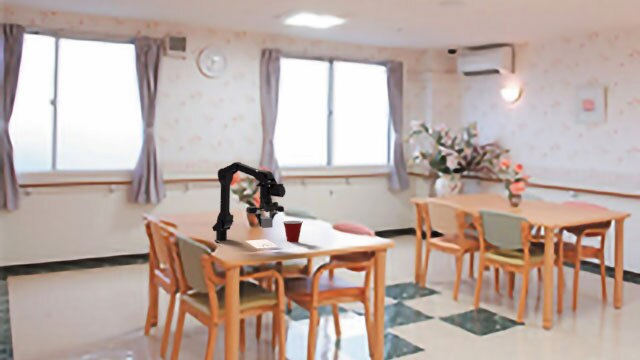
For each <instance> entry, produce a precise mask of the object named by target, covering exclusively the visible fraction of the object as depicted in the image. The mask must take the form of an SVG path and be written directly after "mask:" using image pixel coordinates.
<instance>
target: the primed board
mask: <svg viewBox="0 0 640 360" xmlns="http://www.w3.org/2000/svg"><path fill="white" fill-rule="evenodd" d="M245 242H246V243H248V244H249V245H251V246H252V247H254V248H255V249H266V248H267V249H268V248H269V249H271V248H279V247H280V246H278V245H277V244H275V243H273V242H272V241H270V240H268V239H253V240H251V239H249V240H245Z"/></svg>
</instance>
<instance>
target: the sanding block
mask: <svg viewBox="0 0 640 360" xmlns="http://www.w3.org/2000/svg"><path fill="white" fill-rule="evenodd" d="M273 220H274V218H273V219H272V218H270V217H269V215H268V216H261V226H259V223H258V222H257V226H258V227H260V228H262V229H268V228H269V229H270V228H273V226H274V225H273Z"/></svg>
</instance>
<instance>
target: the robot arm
mask: <svg viewBox="0 0 640 360" xmlns="http://www.w3.org/2000/svg"><path fill="white" fill-rule="evenodd" d="M238 172H240V173H243V174H246V175H248V176H250V177H253V178H254V179H255V180H256V181H258V183H257V184H256V187H259V197H258V198H259V199H258V200H259V205H258V207H256V206H254V205H253V206H247V207H246V209H245V213H248V214H253V215H254V216H255V218H256V220H257V224H258V223H259V226H258V227H260V226H261V217H262V213H261V212H266V213H269V215H268V217H270V218H272V219H273V220H274V219H275V216H276V215H278V214H279V213H284V212H285V207H284V206H283V205H282V204H281V205H279V202H278V201H274V202H273V198H272V197H277V198H284V197H285V195H286V188H285V186H284V183H278V181H277V180H276V178H275V177H274V175H273V172H272V171H270V170H266V169H259V168H258V169H257V168H255V167H253V166H251V165H247V164H245V163H242V162H240V161H236V162H235V161H233V162H232V163H231V164H230V165H227V166H224V167H222V168H219V169H218V170H217V180H218V182H219V184H220V198H219V199H220V202H219V203H220V204H219V209H220V210H219V213H218V214H217V219H216V223H215V224H213V226H212V231H213V232H215V239H213V240H214V242H215V243H217V244H219V243H220V242H226V241H227V240H228V231H229V230H231V226H233V223H234V214H231V212H230V208H231V207H230V205H231V203H230V202H231V184H232V182H233V180H234V175H235V174H237V173H238ZM219 241H220V242H219Z"/></svg>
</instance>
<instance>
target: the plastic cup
mask: <svg viewBox="0 0 640 360" xmlns="http://www.w3.org/2000/svg"><path fill="white" fill-rule="evenodd" d="M282 223H283V226H284V231H285V237H286V242H289V243H298V242H299V240H300V236H301V230H302V224H303V223H304V222H303V221H302V220H286V221H282Z"/></svg>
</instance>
